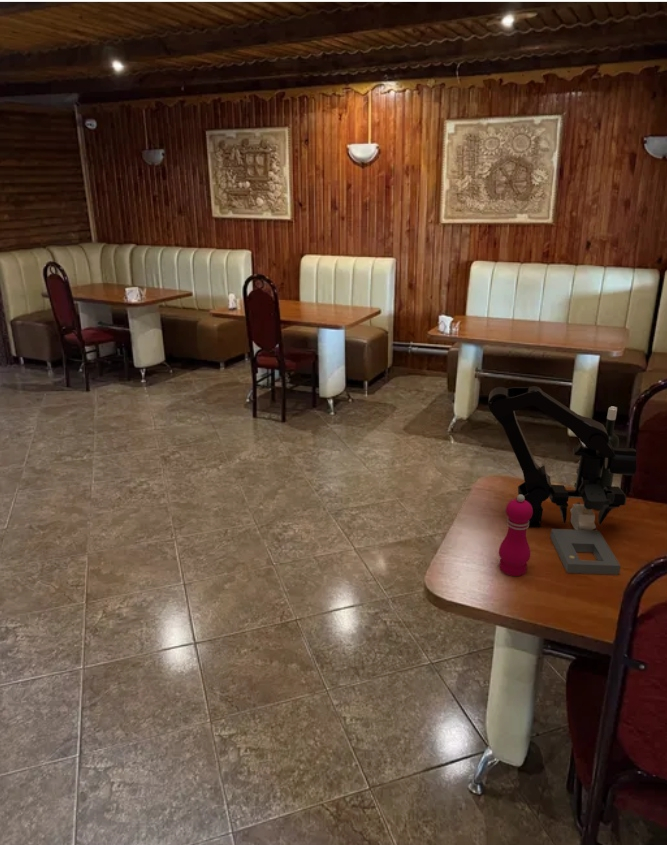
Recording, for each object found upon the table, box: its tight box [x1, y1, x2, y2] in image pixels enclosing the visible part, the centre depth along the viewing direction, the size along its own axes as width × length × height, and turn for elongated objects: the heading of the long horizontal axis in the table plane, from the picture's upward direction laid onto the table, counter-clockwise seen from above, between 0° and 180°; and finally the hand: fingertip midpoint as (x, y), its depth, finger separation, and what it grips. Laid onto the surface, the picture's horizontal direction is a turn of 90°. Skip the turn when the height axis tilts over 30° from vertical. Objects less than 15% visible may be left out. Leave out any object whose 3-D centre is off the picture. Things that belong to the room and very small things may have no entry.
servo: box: [569, 501, 597, 530], centre depth 168 cm, size 4×9×6 cm, turn 176°
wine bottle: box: [593, 405, 620, 511], centre depth 175 cm, size 6×6×30 cm
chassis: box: [550, 528, 621, 576], centre depth 156 cm, size 12×16×3 cm
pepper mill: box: [498, 494, 533, 577], centre depth 148 cm, size 7×7×20 cm
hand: (581, 523), depth 169 cm, fingers open, 9 cm apart
